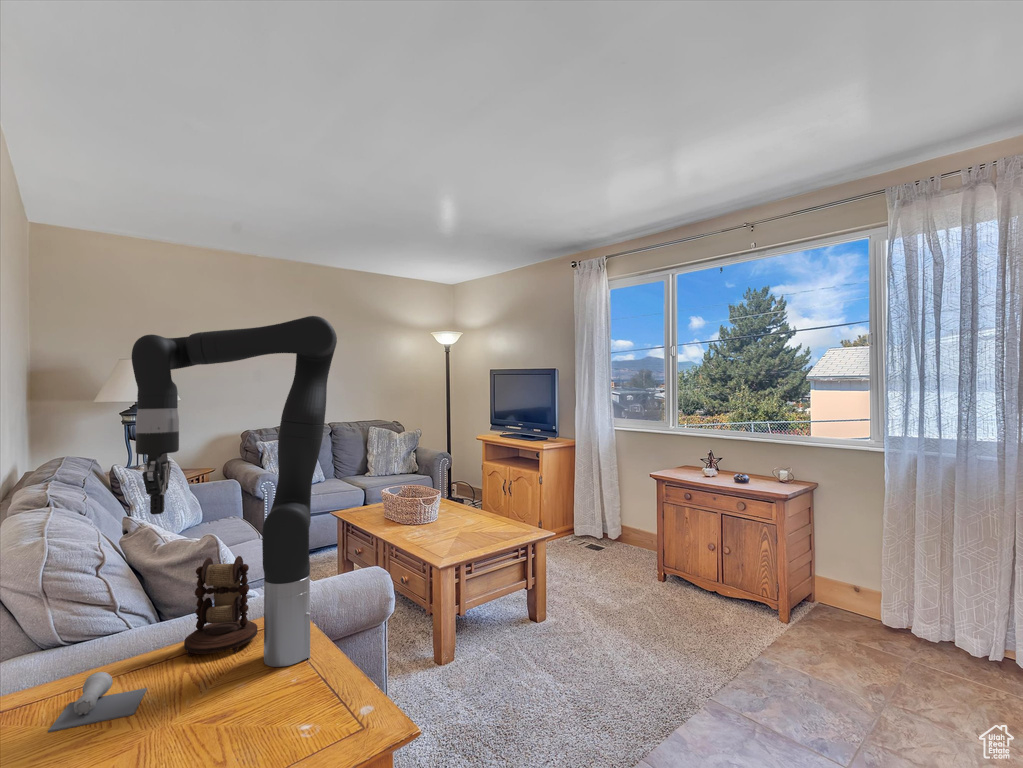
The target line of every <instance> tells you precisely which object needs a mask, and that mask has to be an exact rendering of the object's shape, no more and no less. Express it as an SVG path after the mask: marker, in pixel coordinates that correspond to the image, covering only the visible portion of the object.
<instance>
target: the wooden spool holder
mask: <svg viewBox="0 0 1023 768" xmlns="http://www.w3.org/2000/svg"><path fill="white" fill-rule="evenodd" d="M249 568H250V567H249V565H248V564H246V563H244V560H243V557H242V556H241V555H237V556H236V558H235V559H234V563H221V564H220V563H218V564H215V563H214V561H213V559H212V557H207V558H206V559H204V562H203V564H202V565H200V566H198V567H197V568H196V570H195V574H196V575H197V576H196V579H197V581H196V586H197V587H196V588H195V590H194V594H195V597H196V598H197V601H196V607H197V608H196V609H195V615H196V620H197V621H196V624H195V628H196V630H194V631H193V632H192V633H190V634H188V635H187V636H186V637H185V639H184V642H183V648H184V650H185V651H186V653H187V655H188V657H191V656H193V654H196V655H197V654H199V655H200V654H203V655H204V654H205V655H207V654H215V653H220V652H225V651H229V650H232V652H233V653H234V654H236V653H237V652H238V650H239V647H241V646H243V645H245V644H247V643H248V642H250V641H251V640H253V639H255V637H257V635H258V625H257V624H256V623H255V622H253V621H250V620H249V619H248V617H247V615H248V611H249V604H247V603H248V597H247V595H248V593H249V590H250V585H249V584H248V580H249V579H248V577H247V575H248V574H249V573H248V571H249ZM204 585H206V586H204ZM207 587H208V588H207ZM205 595H213V599H212V598H210V597H206V598H204V597H205ZM213 602H214V603H213Z"/></svg>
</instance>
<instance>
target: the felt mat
mask: <svg viewBox="0 0 1023 768" xmlns="http://www.w3.org/2000/svg"><path fill="white" fill-rule="evenodd" d="M146 692H148V687H145V688H140V689H139V688H138V689H134V690H129V691H128V690H127V691H123V692H118V693H112V694H108V695H103V696H101V697H99V698H98V700H97V702H96V706H95V708H94V709H93V710H92V711H91V712H89V713H87V714H85V715H84V714H81V715H78V714H79V713H75V712H74V704H75V702H76V701H71V702H69V703H68V704H67V706H66V707H64V709H63V711H62V712H61V713H60V714H59V716H58V718H57V719H56V720H55V721H54V723H52V725H51V727H50V728H49V729H48V730H47V732H48V733H53V732H57V731H62V730H67V729H70V728H71V729H72V728H76V727H81V726H86V725H92V724H96V723H101V722H105V721H111V720H114V719H115V720H116V719H119V718H124V717H130V716H133V715H135V714H136V712H137V710H138V708H139V705H140V704H141V701H142V700H143V698H144V696H145V694H146Z"/></svg>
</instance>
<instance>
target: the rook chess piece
mask: <svg viewBox="0 0 1023 768" xmlns="http://www.w3.org/2000/svg"><path fill="white" fill-rule="evenodd" d="M112 685H113V677H112V675H110V673H108V672H105V671H100V672H98V671H97V672H95V673H93V674H90V676H88V677H87V678H86V679H85V681H84V683H83V685H82V694H81V696H79V698H78V699H77V700H76V701H74V702H75V704H74V712H75V713H79V714H78V715H81V714H84V715H85V714H87V713H89V712H91V711H92V710H93V709H94V708H95V706H96V702H97V700H98V698H99V697H102V696H105V694H106V693H108V692H109V690H110V689H111V688H112Z"/></svg>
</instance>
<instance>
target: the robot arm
mask: <svg viewBox="0 0 1023 768" xmlns="http://www.w3.org/2000/svg"><path fill="white" fill-rule="evenodd" d="M337 340H338V338H337V333H336V331H335V329H334V327H333V326H332V323H330V322H329V321H328V320H327V319H325V318H324V317H321V316H317V315H309V316H305V317H301V318H297V319H293V320H289V321H285V322H281V323H276V324H271V325H270V324H269V325H265V326H259V327H257V326H256V327H249V328H237V329H235V328H234V329H223V330H213V331H212V330H211V331H210V330H209V331H201V332H196V333H192V334H189V335H188V336H183V337H182V336H181V337H180V336H179V337H165V336H161V335H158V334H146V335H142V336H141V337H138V338H137V340H136V341H135V342H134V344H133V346H132V350H131V365H132V369H133V374H134V379H135V383H136V386H137V395H136V397H137V403H136V404H137V407H136V408H137V409H136V417H135V453H136V454H137V455H143V456H144V455H147V458H146V462H145V463H144V465H143V471H142V479H143V483H144V488H145V493H146V495H148V497H150V498H149V500H150V502H149V503H150V504H149V509H150V511H149V512H150V514H151V515H161V514H163V513H164V512H165V495H166V493H167V490H168V489H169V482H170V481H169V480H170V477H171V470H172V466H171V460H169V458H168V454H172V453H177V452H179V450H180V418H179V410H178V407H179V406H178V402H179V401H178V398H179V397H178V396H179V395H178V387H177V385H176V383H175V382H174V381H173V378H172V371H173V370H177V369H178V370H179V369H184V368H189V367H194V366H198V365H199V366H200V365H202V366H203V365H215V364H222V363H223V364H224V363H233V362H237V361H243V360H248V359H250V358H256V357H260V356H267V355H274V354H275V355H277V354H295V356H296V357H295V358H296V359H295V371H294V377H293V381H292V384H291V385H290V386H291V387H290V390H289V392H288V394H287V397H286V400H285V403H284V406H283V409H282V413H281V418H280V426H279V430H278V431H279V432H278V439H277V465H278V467H277V469H278V476H277V477H278V478H277V485H276V489H275V494H274V498H273V501H272V504H271V508H270V511H269V513H268V515H266V517H265V519H264V522H263V525H262V531H261V532H262V534H261V535H262V537H261V538H262V539H261V541H262V545H261V546H262V548H261V549H262V551H261V552H262V569H263V570H262V571H263V577H264V579H263V580H264V583H263V584H264V585H263V593H264V595H263V608H264V609H263V663H264V665H267V666H269V667H273V668H280V667H288V666H292V665H295V664H297V663H301V662H302V661H304V660H307V658H308V659H310V658H311V592H310V591H311V580H310V579H311V562H310V526H311V521H312V517H311V505H312V504H311V503H312V501H311V500H312V485H313V479H314V476H315V475H314V474H315V471H316V467H317V464H318V460H319V456H320V452H321V446H322V444H323V443H322V442H323V438H324V437H323V436H324V430H325V429H324V428H325V422H326V421H325V420H326V419H325V418H326V410H327V409H326V408H327V391H328V390H327V388H328V387H327V386H328V378H329V374H330V370H331V369H330V368H331V365H332V361H333V357H334V353H335V349H336V347H337V343H338V341H337Z"/></svg>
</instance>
